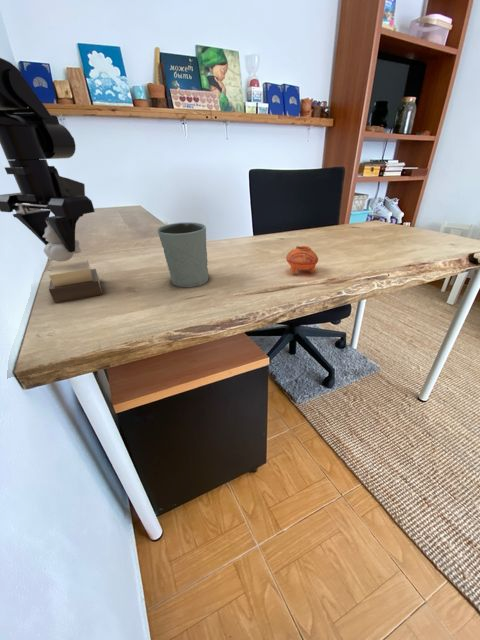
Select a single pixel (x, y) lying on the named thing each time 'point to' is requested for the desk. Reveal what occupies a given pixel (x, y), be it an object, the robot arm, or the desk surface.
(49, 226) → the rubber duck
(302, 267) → the pot
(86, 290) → the memo paper holder
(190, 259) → the grey green cup
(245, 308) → the desk surface
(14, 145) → the robot arm
